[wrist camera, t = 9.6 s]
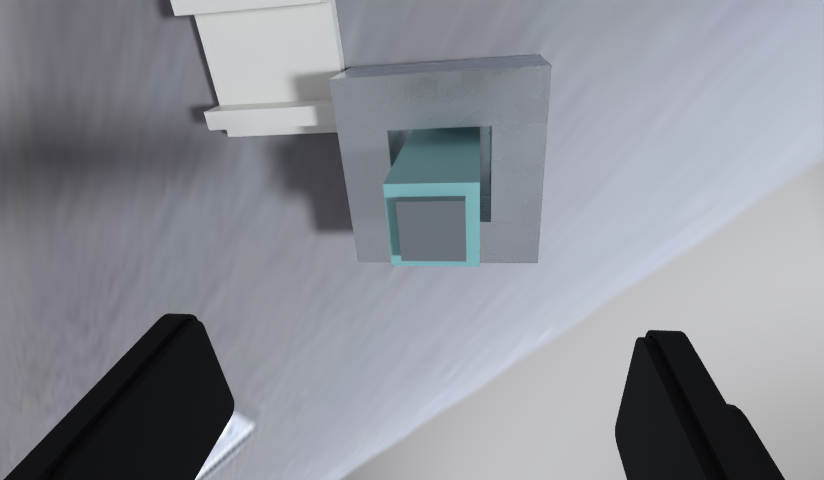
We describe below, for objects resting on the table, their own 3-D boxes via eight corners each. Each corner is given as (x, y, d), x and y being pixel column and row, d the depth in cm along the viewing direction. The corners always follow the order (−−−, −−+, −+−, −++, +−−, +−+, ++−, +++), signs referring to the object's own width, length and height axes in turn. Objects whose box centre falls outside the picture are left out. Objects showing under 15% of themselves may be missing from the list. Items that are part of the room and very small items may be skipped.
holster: (192, -25, 27) (161, -28, 25) (329, -40, 26) (312, -44, 23) (235, 133, 32) (213, 145, 29) (353, 127, 31) (341, 139, 28)
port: (351, 67, 29) (325, 80, 24) (540, 54, 27) (553, 66, 22) (373, 228, 34) (356, 266, 29) (529, 227, 32) (538, 268, 28)
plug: (411, 129, 29) (380, 189, 20) (480, 126, 28) (479, 187, 19) (416, 191, 31) (389, 271, 22) (480, 190, 30) (479, 272, 21)
